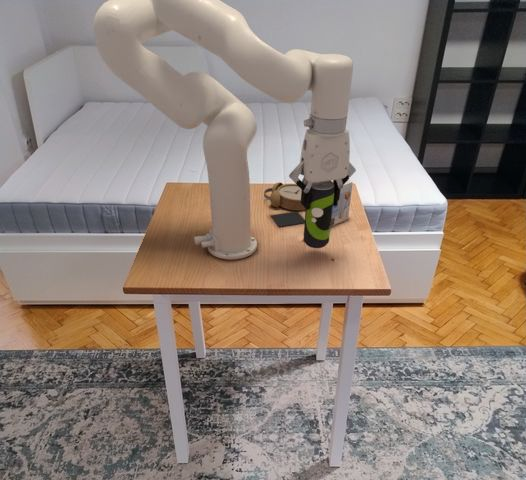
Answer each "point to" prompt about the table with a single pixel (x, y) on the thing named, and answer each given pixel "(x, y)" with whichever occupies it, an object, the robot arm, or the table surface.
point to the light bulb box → (342, 204)
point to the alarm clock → (285, 196)
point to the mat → (288, 219)
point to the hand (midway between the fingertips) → (319, 204)
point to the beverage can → (319, 214)
